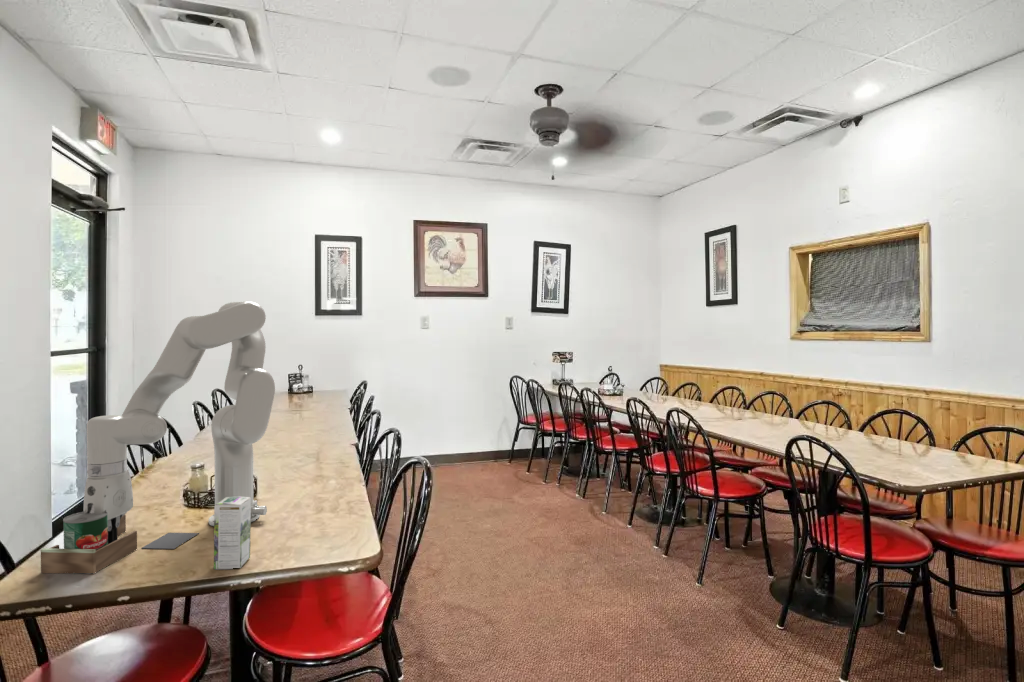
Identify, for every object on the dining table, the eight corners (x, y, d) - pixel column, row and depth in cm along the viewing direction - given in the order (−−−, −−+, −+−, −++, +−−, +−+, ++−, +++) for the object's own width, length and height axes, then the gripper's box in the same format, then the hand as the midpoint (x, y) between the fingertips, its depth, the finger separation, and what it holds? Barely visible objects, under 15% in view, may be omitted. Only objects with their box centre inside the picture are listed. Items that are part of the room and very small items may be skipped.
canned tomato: (80, 557, 126) (79, 510, 126) (116, 556, 127) (115, 509, 127) (54, 573, 118) (53, 522, 118) (93, 571, 119) (93, 521, 119)
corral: (167, 532, 142) (167, 513, 142) (93, 573, 118) (93, 550, 118) (123, 531, 142) (123, 512, 142) (40, 572, 118) (40, 549, 118)
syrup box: (224, 559, 126) (224, 496, 125) (251, 558, 126) (251, 495, 126) (213, 570, 120) (212, 504, 120) (241, 569, 120) (240, 503, 120)
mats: (199, 533, 141) (199, 533, 141) (149, 564, 123) (149, 563, 123) (110, 532, 142) (110, 531, 142) (47, 562, 123) (47, 561, 123)
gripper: (97, 477, 122) (98, 559, 122) (145, 461, 137) (146, 534, 137) (65, 476, 122) (66, 558, 122) (116, 460, 137) (117, 533, 137)
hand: (108, 545), depth 130 cm, fingers closed
